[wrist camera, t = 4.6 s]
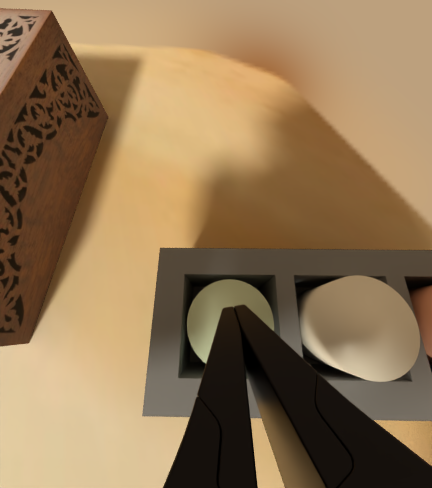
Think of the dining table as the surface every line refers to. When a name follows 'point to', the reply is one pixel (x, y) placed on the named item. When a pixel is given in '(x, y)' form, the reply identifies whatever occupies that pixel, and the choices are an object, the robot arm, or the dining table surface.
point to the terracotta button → (423, 315)
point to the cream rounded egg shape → (359, 328)
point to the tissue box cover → (39, 159)
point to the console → (278, 321)
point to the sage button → (210, 307)
